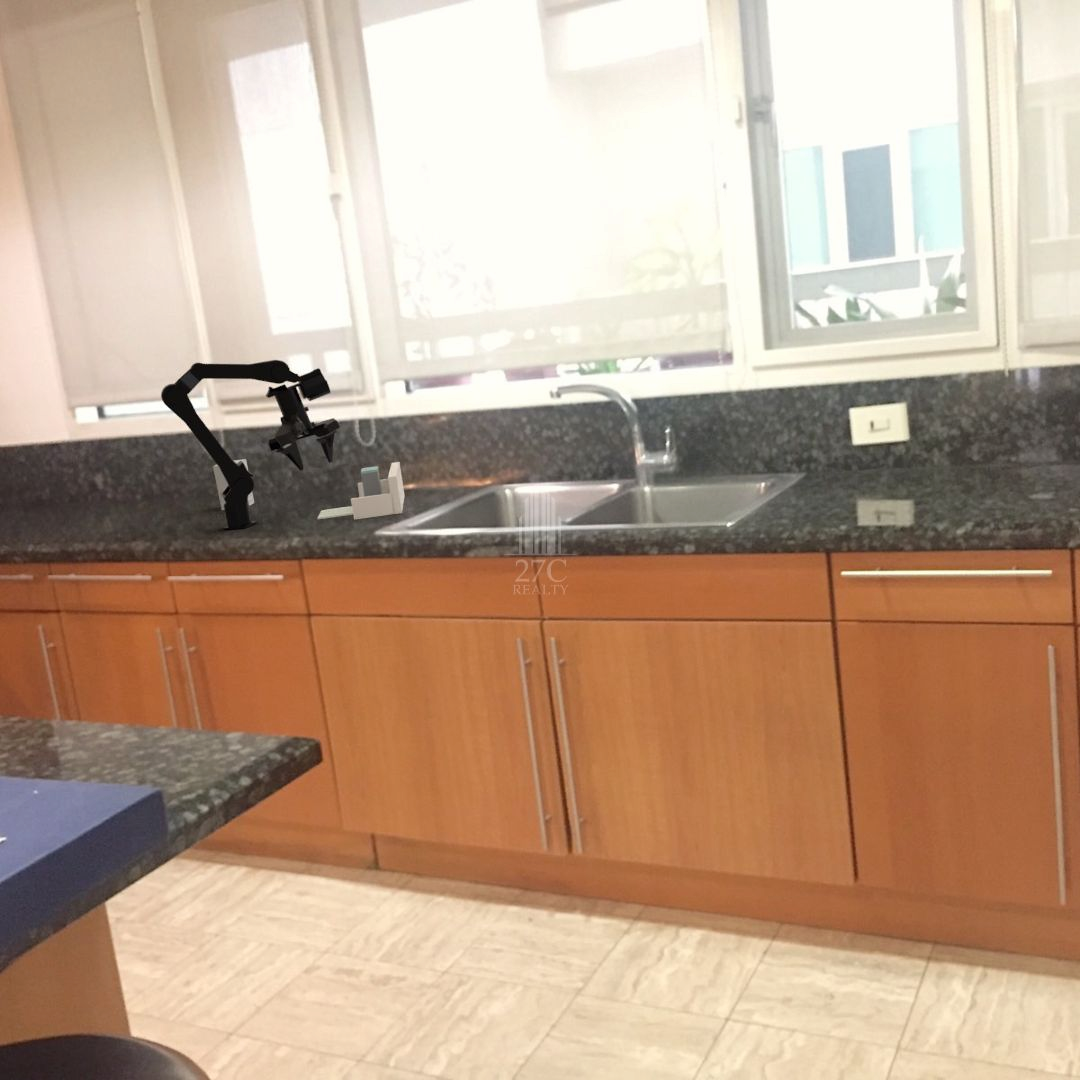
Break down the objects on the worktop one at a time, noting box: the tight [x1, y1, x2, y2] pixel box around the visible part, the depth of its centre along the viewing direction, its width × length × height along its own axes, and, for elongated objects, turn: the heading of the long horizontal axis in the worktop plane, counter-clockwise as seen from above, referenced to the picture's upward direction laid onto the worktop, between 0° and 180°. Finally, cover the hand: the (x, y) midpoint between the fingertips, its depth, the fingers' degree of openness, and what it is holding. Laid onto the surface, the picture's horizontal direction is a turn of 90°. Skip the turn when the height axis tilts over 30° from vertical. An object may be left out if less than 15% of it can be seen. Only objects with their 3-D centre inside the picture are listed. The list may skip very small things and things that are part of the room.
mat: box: [316, 505, 353, 520], centre depth 298 cm, size 10×11×1 cm
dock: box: [350, 461, 405, 520], centre depth 297 cm, size 12×26×9 cm, turn 5°
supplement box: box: [212, 458, 255, 511], centre depth 328 cm, size 7×7×13 cm
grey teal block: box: [360, 465, 382, 497], centre depth 297 cm, size 4×6×10 cm, turn 5°
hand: (316, 466), depth 300 cm, fingers open, 9 cm apart
